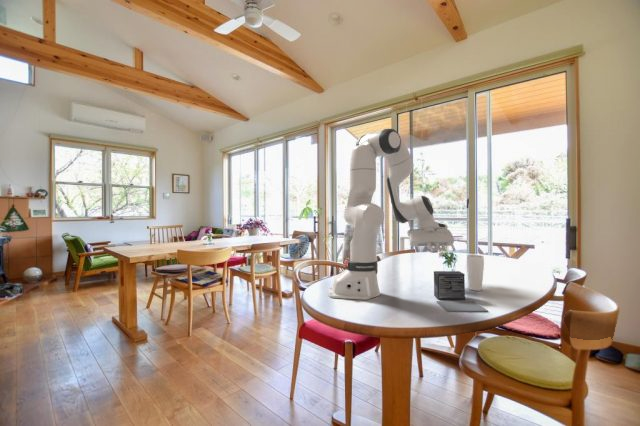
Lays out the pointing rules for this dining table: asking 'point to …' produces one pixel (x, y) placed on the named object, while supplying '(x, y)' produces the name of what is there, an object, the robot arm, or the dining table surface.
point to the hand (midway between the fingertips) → (434, 252)
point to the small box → (449, 285)
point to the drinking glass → (475, 271)
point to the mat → (461, 306)
